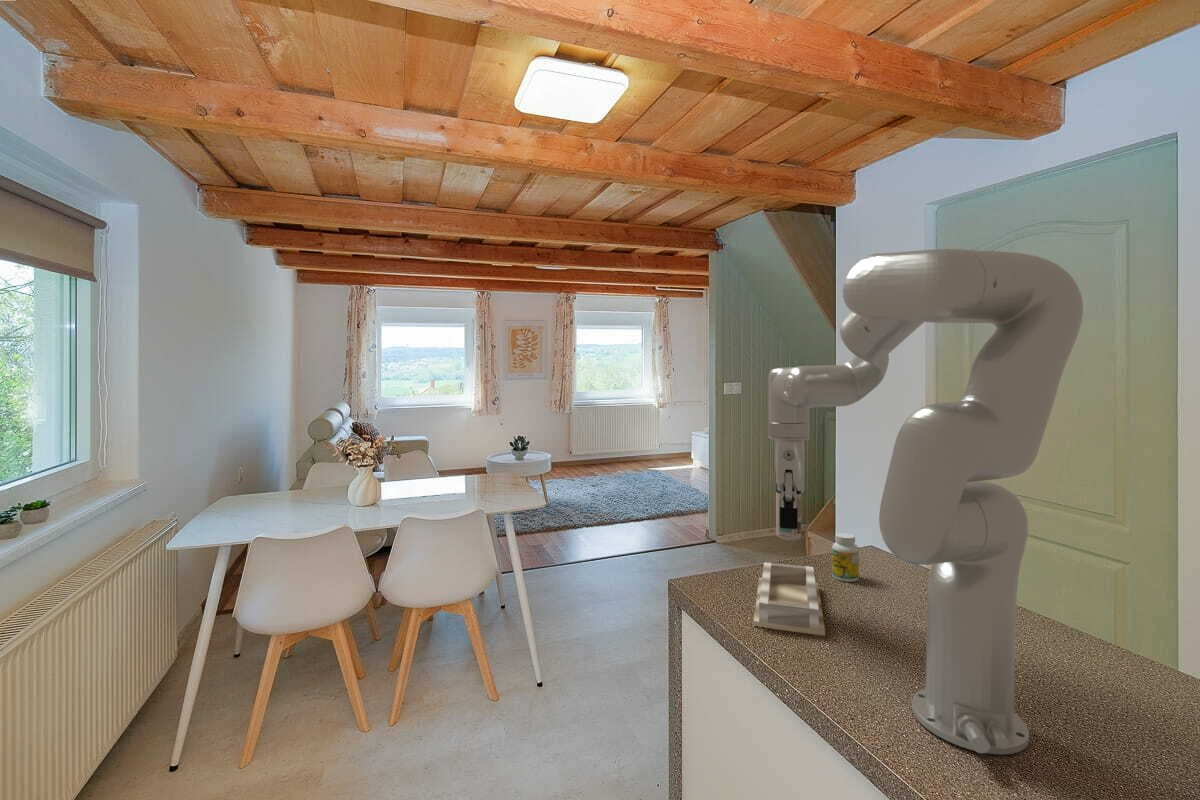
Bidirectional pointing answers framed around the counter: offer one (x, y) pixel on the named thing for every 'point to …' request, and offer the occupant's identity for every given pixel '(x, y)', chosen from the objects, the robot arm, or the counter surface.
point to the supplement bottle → (845, 558)
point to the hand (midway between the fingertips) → (788, 523)
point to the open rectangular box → (789, 600)
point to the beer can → (780, 532)
